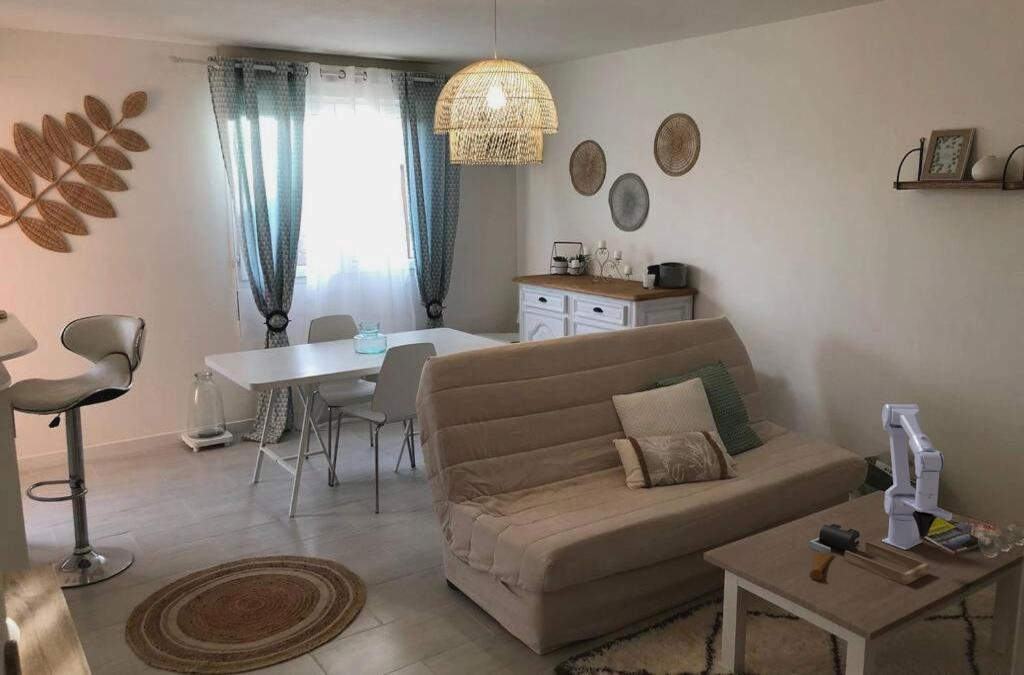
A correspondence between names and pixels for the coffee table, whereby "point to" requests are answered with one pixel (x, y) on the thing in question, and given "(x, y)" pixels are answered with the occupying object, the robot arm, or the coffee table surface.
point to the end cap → (839, 538)
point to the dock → (819, 546)
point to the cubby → (905, 578)
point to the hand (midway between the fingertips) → (923, 535)
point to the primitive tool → (819, 565)
